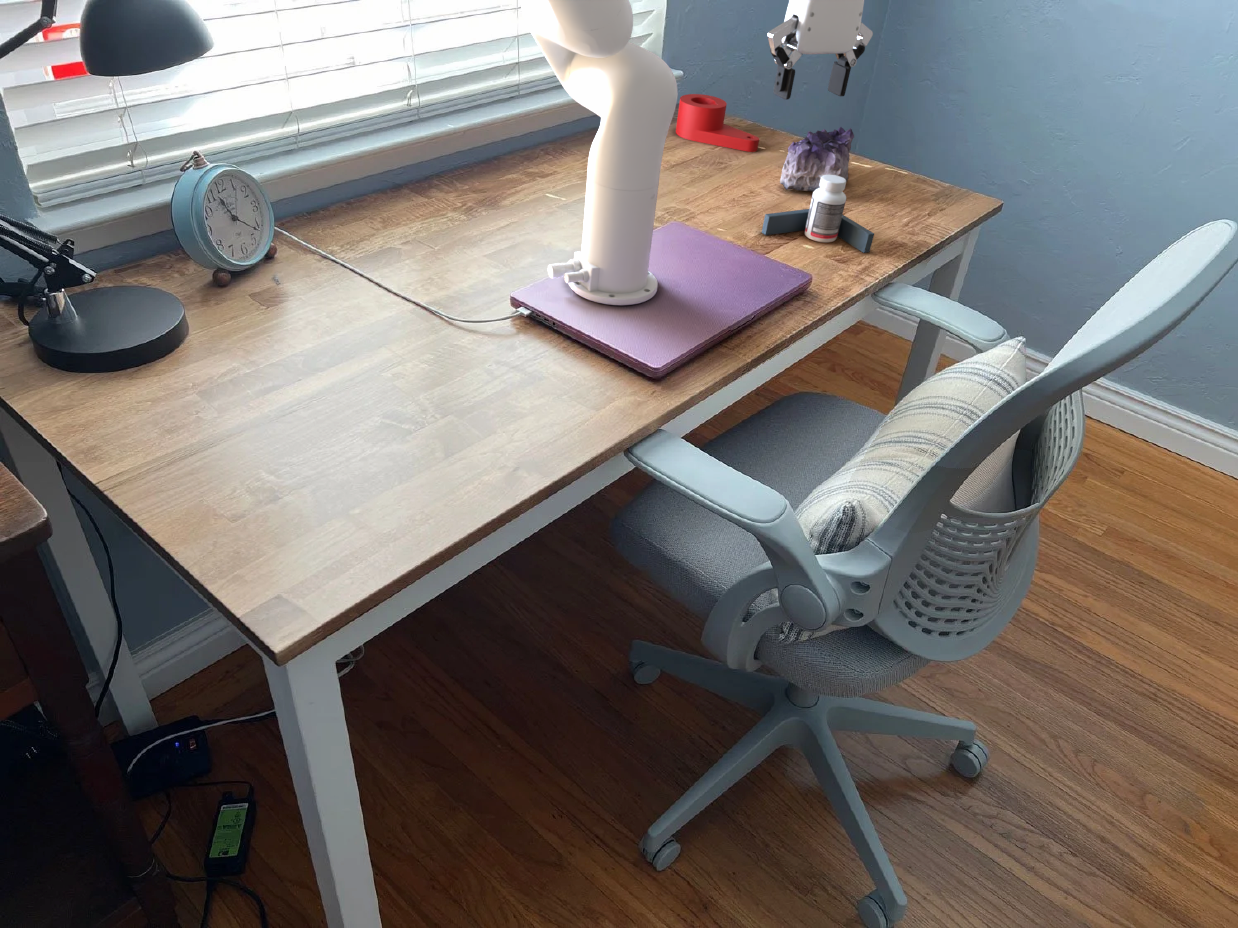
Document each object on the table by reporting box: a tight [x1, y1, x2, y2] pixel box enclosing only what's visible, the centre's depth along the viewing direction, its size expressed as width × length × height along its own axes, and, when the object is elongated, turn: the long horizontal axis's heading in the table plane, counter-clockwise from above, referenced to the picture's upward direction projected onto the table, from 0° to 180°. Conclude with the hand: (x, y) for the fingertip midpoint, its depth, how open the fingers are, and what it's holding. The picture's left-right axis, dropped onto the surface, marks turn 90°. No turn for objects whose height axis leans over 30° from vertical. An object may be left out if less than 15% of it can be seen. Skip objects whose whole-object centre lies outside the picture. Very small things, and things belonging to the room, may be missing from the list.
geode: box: [779, 126, 855, 192], centre depth 175 cm, size 20×12×10 cm, turn 155°
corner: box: [761, 208, 875, 254], centre depth 153 cm, size 13×12×3 cm
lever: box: [675, 93, 760, 153], centre depth 191 cm, size 18×9×7 cm, turn 57°
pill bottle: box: [804, 175, 847, 244], centre depth 153 cm, size 5×5×10 cm
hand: (808, 95), depth 134 cm, fingers open, 9 cm apart
